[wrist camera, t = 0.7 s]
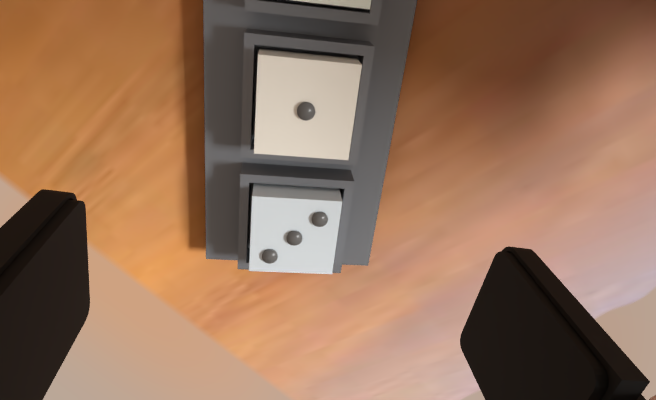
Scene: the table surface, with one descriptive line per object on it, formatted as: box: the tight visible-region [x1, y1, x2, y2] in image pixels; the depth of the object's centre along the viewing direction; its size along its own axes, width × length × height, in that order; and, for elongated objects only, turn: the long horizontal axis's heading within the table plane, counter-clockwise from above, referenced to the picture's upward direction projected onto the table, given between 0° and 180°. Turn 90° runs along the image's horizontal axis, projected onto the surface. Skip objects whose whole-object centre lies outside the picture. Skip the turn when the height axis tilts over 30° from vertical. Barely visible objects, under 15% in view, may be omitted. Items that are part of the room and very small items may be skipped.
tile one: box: [254, 49, 362, 160], centre depth 28 cm, size 6×6×2 cm
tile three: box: [249, 183, 342, 274], centre depth 32 cm, size 6×6×2 cm
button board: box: [203, 0, 417, 273], centre depth 30 cm, size 13×27×4 cm, turn 174°
